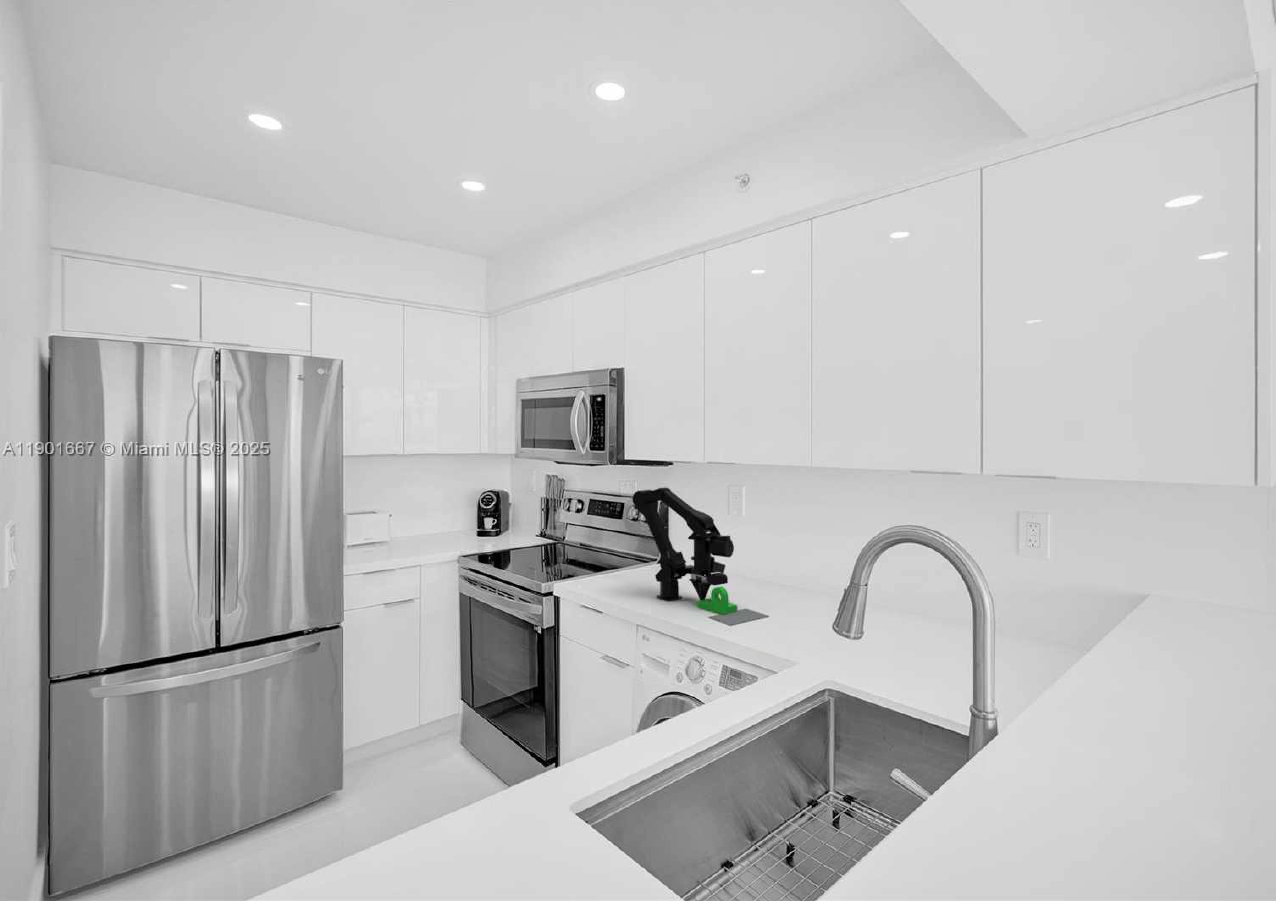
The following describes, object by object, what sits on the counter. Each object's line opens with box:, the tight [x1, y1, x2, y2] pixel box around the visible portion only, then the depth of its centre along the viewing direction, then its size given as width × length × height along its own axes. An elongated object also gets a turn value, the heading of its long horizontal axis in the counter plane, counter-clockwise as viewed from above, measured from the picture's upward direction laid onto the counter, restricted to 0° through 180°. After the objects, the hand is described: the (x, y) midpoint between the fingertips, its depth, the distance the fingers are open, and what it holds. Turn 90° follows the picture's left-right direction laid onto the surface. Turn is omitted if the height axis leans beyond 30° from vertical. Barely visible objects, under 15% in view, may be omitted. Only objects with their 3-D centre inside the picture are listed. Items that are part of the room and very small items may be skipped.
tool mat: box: [708, 608, 769, 627], centre depth 190 cm, size 10×16×1 cm, turn 124°
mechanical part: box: [696, 585, 738, 615], centre depth 199 cm, size 12×6×8 cm, turn 39°
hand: (702, 600), depth 204 cm, fingers closed
